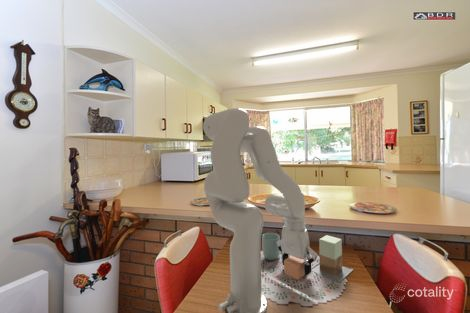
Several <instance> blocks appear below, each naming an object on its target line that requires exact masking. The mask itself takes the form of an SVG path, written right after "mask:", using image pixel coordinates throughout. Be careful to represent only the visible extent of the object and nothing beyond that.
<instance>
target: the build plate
mask: <svg viewBox="0 0 470 313" xmlns="http://www.w3.org/2000/svg"><path fill="white" fill-rule="evenodd" d="M353 271H354V269H353V268H348V267H346V266H343V265H342V271H340V272H339V273H338V274H337V275H336V276H334V275H332V274H329V273H327V272H324V271H322V270H320V260H319V261H318V262H317V263H314V264H313V265H311V272H313V273H315V274H318V275H321V276H323V277H325V278H328V279H329V280H332V281H334V282H336V283H342V281H344V279H346V278H347V277H348V276H349V275H350V274H351V273H352V272H353Z"/></svg>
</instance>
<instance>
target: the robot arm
mask: <svg viewBox="0 0 470 313" xmlns="http://www.w3.org/2000/svg"><path fill="white" fill-rule="evenodd" d="M250 122H251V120H250V115H249V113H248V112H247V110H245V109H243V108H240V107H234V108H228V109H224V110H222V111H221V110H220V111H219V112H215V113H212V114H209V115H208V116H207V117H206V118H205V119H204V121H203V124H202V129H203V132H204V135H205V136H206V137H208V139H209V140H211V141H212V144H211V148H210V159H211V164H212V168H213V170H211V171H210V172H209V173H208V174H207V175H206V176H205V179H204V183H203V184H204V185H203V189H204V193H205V197H206V200H207V203H208V205H209V208H210V211H211V214H212V217H213V219H214V220H215V222H216V224H218V225H219V226H220V227H222V228H225V229H226V230H229V231H231V232H233V237H232V240H231V241H230V245H229V270H230V272H229V273H230V276H229V277H230V292H228V294H227V298H226V300H224V301H223V302H221V303H219V304H218V305H217V308H218V311H219V312H220V313H221V312H224V311H225V310H226V311H227V313H266V311H267V307H268V301H267V298H266V296H265V295H264V294H263V292H262V289H263V288H262V286H263V285H262V255H261V254H262V250H261V248H262V247H261V246H262V235H263V234H262V232H263V228H264V214H263V211H262V210H261V209H260V208H259V207H258V206H256V205H255V204H253V203H250V202H246V200H247V199H248V198H249V196H250V184H249V181H248V177H247V174H246V170H245V168H244V163H243V159H242V155H241V153H247V154H248V155H249V158H250V161H251V163H252V166H253V169H254V172H255V174H256V176H257V177H258V178H260V180H262V181H264V182H265V183H267V184H269V185H271V186H272V187H274V188H275V189H277V191H279V192H280V193H272V194H270V195H268V196H267V197H266V198H265V201H264V208H265V209H266V212H268V213H270V214H271V215H274V216H278V217H282V222H283V223H284V225H283V226H282V230H281V237H280V240H278V241H277V245H278V248H279V250H280V255H281V259H282V260H281V261H282V266H284V260H285V259H287V258H288V257H290V256H294V257H296V258H299V259H303V260H304V262H305V263H306V264H305V265H304V271H305V275H304V276H306V277H307V276H309V274H311V273H312V271H311V267H312V263H314V262H315V261H316V260H317V257H318V253H317V252H316V251H315V250H313V249H312V248H311V247H310V238H309V233H308V229H307V228H306V204H305V202H306V201H305V195H304V193H303V192H302V190H301V188H300V186H299V184H298V183H297V182H296V180H295V179H294V178H293V177H292V176H291V175H290V174H289V173H288V172H287V171H286V170H285V169H284V168H283V167H282V166H281V163H280V160H279V158H278V155H277V152H276V149H275V147H274V143H273V140H272V137H271V134H270V133H269V131H268V129H267V128H265V127H264V126H261V125H258V126H257V125H256V126H255V125H254V126H251V125H250V124H251V123H250Z"/></svg>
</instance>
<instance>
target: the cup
mask: <svg viewBox="0 0 470 313" xmlns="http://www.w3.org/2000/svg"><path fill="white" fill-rule="evenodd" d="M278 240H281V237H280V235H279V234H278V233H275V232H266V233H263V234H261V246H262V247H261V248H262V254H263V257H264V258H265V259H266V260H267V259H268V261H276V260H278V259H279V257H280V255H281V252H280V250H279V248H278V245H277V241H278ZM277 258H278V259H277ZM275 259H276V260H275Z"/></svg>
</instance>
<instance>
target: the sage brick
mask: <svg viewBox="0 0 470 313" xmlns="http://www.w3.org/2000/svg"><path fill="white" fill-rule="evenodd" d="M318 239H319V241H318V243H319V244H318V245H319V249H318V251H319V252H318V253H319V254H320V255H323V256H325V257H328V258H331V259H334V260H335V259H337V258H338V257H339V256H341V255H342V256H343V246H342V244H343V242H342V241H343V240H342V238H339V237H335V236H332V235H328V234H326V235H324V236H323V237H321V238H318ZM320 255H319V256H320Z"/></svg>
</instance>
